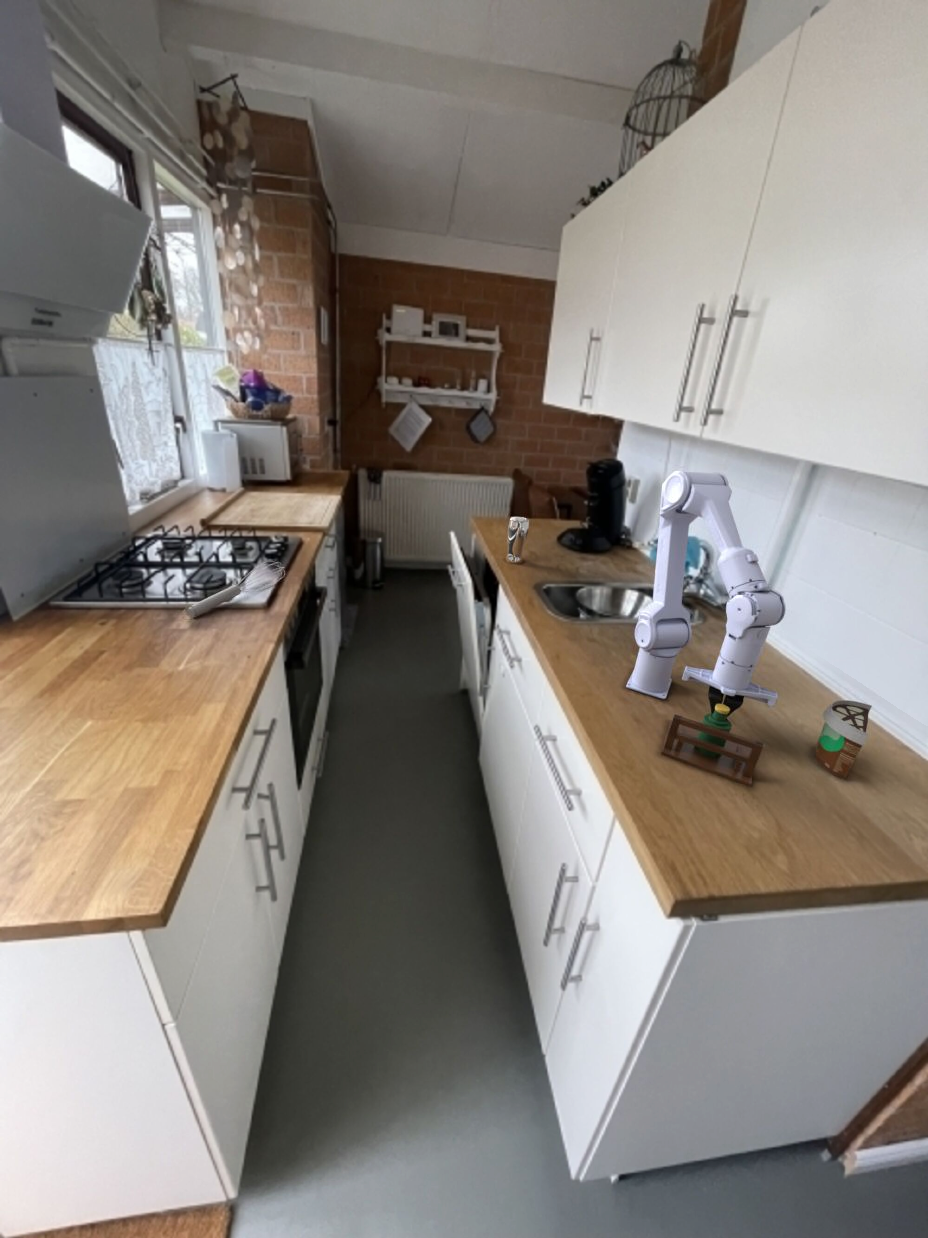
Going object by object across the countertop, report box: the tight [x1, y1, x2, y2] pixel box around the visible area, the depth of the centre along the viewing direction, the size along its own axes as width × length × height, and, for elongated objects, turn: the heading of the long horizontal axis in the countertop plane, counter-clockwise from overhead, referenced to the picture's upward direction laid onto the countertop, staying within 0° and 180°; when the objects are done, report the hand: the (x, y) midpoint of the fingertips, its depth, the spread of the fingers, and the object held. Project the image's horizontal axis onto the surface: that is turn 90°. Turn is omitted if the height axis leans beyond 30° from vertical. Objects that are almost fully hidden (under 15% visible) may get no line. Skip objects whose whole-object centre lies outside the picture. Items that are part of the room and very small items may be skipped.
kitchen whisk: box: [181, 560, 286, 621], centre depth 130 cm, size 6×34×6 cm, turn 159°
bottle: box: [695, 703, 733, 758], centre depth 87 cm, size 4×4×9 cm
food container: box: [813, 699, 873, 780], centre depth 89 cm, size 12×6×10 cm, turn 141°
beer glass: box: [504, 516, 530, 564], centre depth 177 cm, size 7×7×15 cm
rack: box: [660, 713, 764, 787], centre depth 88 cm, size 11×14×7 cm
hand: (714, 725), depth 91 cm, fingers closed, pressing on bottle
